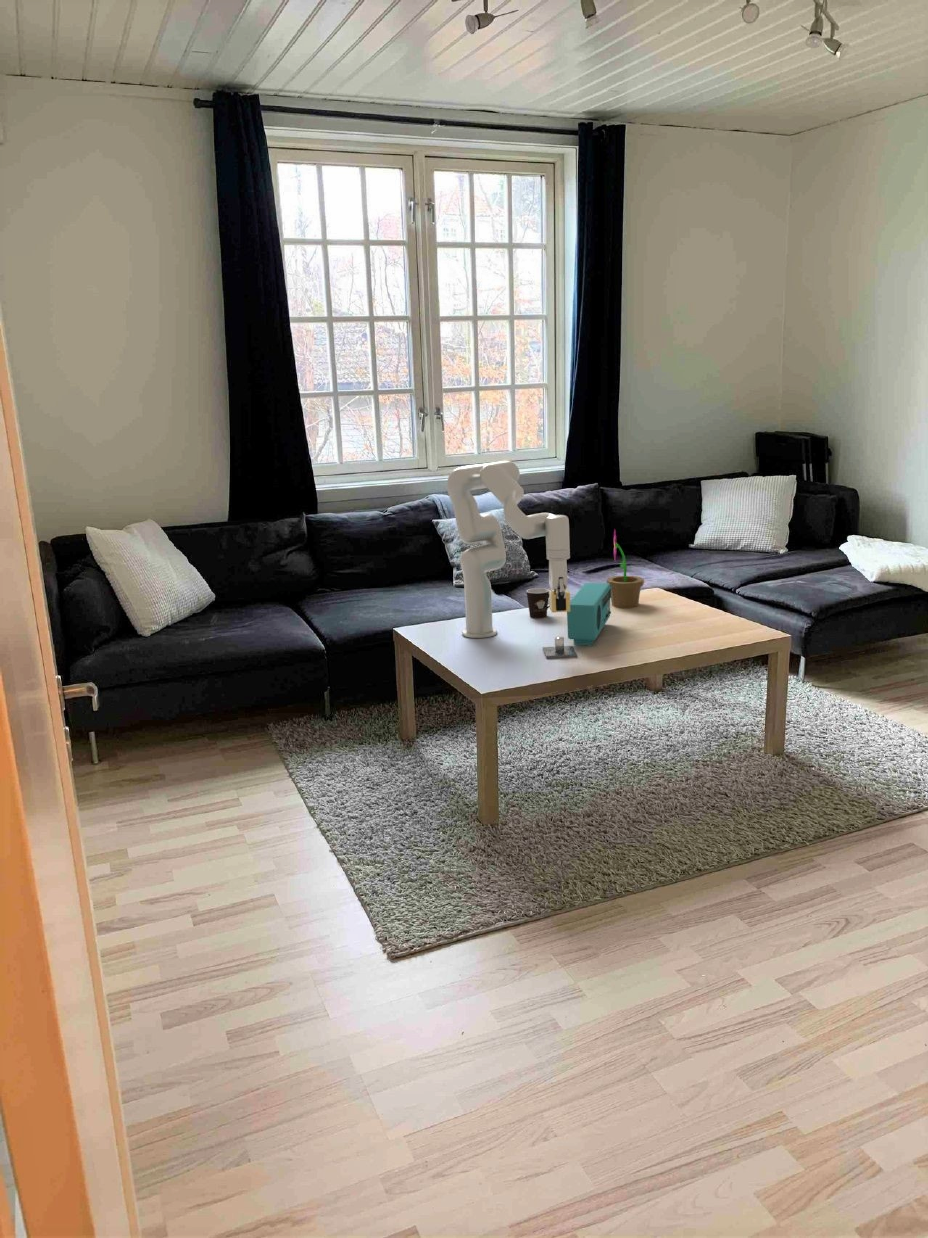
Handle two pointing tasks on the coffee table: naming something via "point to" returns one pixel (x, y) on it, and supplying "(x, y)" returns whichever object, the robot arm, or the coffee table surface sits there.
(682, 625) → the coffee table surface
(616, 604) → the flowerpot
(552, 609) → the pale yellow cube
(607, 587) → the radio
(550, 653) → the stud plate
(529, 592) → the coffee mug
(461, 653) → the coffee table surface
